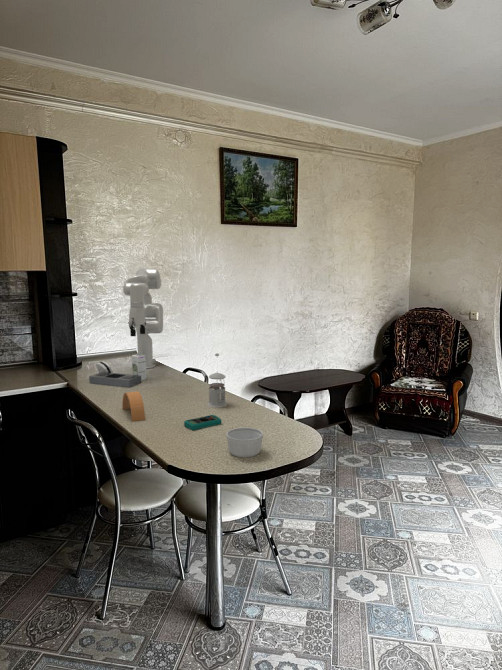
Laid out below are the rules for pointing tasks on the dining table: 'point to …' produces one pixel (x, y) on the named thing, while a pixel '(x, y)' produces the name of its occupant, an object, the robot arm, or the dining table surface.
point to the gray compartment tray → (115, 379)
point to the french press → (217, 391)
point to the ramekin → (244, 441)
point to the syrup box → (139, 365)
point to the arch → (134, 405)
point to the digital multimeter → (202, 422)
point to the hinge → (104, 367)
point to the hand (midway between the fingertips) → (138, 335)
